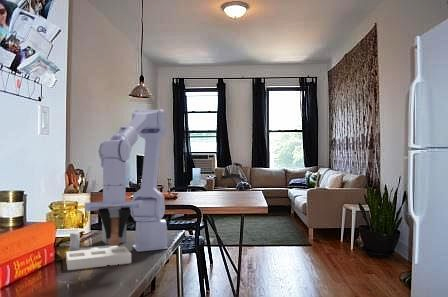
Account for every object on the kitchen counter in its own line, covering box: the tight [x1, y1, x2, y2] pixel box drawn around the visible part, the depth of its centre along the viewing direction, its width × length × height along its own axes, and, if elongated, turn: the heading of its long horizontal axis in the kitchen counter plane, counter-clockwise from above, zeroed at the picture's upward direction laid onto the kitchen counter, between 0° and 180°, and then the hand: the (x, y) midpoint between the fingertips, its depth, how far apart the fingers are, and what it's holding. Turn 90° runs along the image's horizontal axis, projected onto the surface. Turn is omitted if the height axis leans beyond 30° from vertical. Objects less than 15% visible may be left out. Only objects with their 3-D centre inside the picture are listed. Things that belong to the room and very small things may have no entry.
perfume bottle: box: [101, 200, 127, 245], centre depth 132 cm, size 7×7×18 cm
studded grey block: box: [68, 232, 120, 251], centre depth 114 cm, size 14×6×6 cm, turn 115°
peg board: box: [65, 245, 132, 271], centre depth 105 cm, size 16×10×2 cm, turn 115°
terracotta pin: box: [108, 217, 120, 246], centre depth 100 cm, size 3×3×7 cm
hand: (114, 237), depth 100 cm, fingers closed on terracotta pin, 3 cm apart
